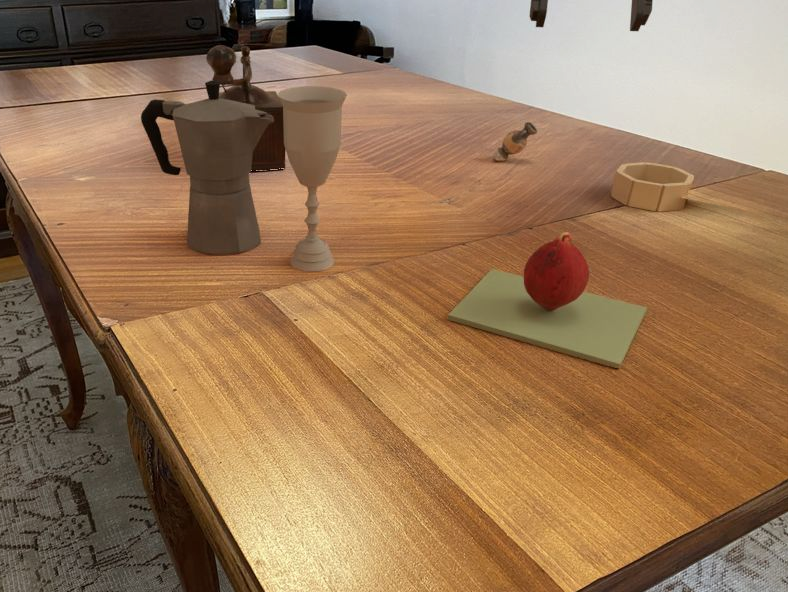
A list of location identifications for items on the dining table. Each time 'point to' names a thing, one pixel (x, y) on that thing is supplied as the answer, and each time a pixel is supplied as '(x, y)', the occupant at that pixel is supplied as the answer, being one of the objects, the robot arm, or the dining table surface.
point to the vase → (514, 142)
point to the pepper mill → (272, 140)
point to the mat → (552, 319)
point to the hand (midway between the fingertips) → (588, 23)
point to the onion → (556, 273)
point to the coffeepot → (213, 167)
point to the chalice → (312, 158)
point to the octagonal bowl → (651, 186)
